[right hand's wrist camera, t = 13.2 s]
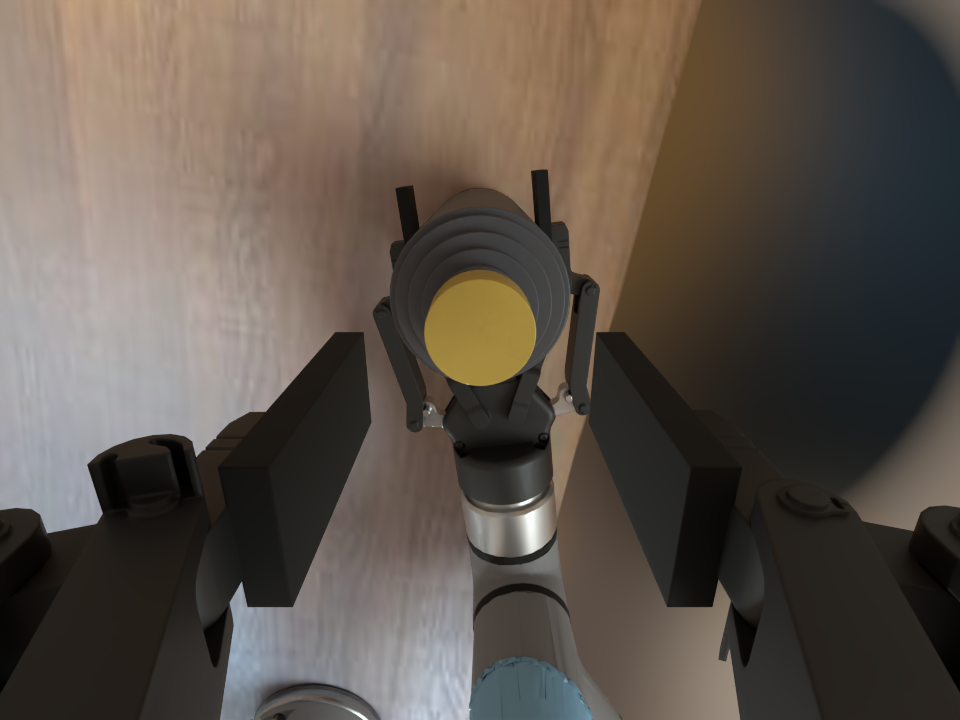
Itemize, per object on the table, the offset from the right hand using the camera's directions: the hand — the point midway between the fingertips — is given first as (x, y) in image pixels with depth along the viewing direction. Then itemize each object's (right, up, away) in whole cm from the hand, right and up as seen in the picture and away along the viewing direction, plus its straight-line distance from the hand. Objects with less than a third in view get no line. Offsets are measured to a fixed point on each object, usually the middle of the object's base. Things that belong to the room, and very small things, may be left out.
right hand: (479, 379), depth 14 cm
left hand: (0, +12, +18) cm, 22 cm away
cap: (0, +1, +4) cm, 4 cm away
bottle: (0, +10, +26) cm, 28 cm away
